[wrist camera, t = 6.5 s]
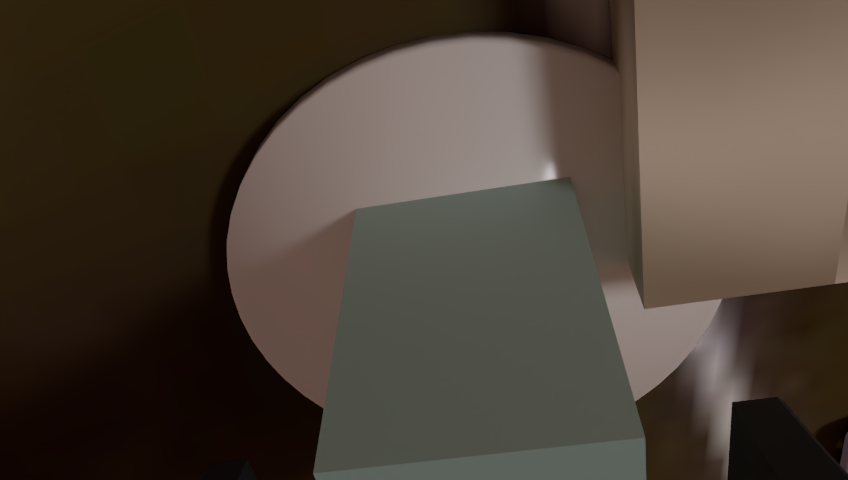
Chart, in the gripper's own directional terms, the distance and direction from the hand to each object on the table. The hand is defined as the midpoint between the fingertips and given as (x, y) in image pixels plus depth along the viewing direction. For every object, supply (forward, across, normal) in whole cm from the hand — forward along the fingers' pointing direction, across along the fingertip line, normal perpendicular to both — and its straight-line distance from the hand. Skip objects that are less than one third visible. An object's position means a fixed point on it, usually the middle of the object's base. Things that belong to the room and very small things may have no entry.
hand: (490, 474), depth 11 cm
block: (+5, 0, 0) cm, 5 cm away
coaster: (+5, 0, 0) cm, 5 cm away
